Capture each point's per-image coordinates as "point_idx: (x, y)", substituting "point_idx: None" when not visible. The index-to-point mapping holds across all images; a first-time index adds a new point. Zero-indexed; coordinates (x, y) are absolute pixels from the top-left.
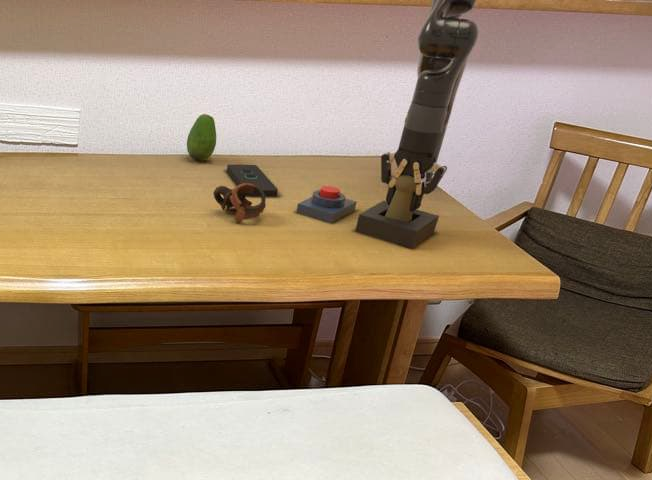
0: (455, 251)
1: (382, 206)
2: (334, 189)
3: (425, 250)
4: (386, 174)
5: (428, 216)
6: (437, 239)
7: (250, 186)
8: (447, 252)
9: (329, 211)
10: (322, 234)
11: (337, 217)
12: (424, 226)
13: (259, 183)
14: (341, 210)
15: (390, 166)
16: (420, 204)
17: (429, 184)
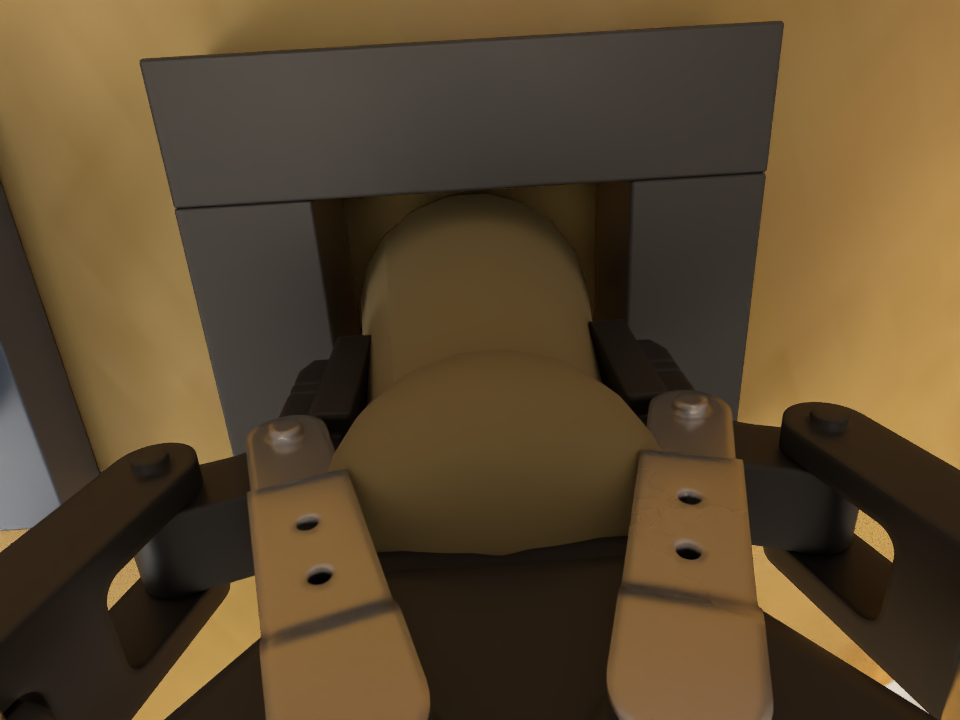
0: (940, 269)
1: (256, 260)
2: None
3: (760, 411)
4: (174, 656)
5: (701, 149)
6: (778, 148)
7: None
8: (892, 330)
9: (13, 506)
10: (206, 647)
11: (67, 421)
12: (737, 386)
13: None
14: (29, 403)
15: (66, 621)
16: (671, 362)
17: (852, 624)
